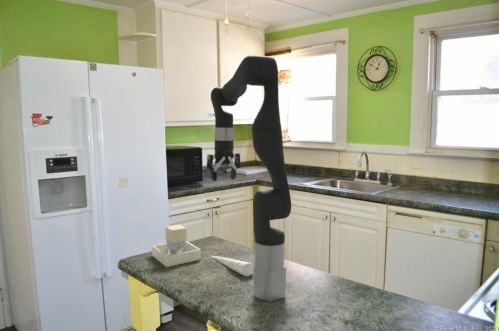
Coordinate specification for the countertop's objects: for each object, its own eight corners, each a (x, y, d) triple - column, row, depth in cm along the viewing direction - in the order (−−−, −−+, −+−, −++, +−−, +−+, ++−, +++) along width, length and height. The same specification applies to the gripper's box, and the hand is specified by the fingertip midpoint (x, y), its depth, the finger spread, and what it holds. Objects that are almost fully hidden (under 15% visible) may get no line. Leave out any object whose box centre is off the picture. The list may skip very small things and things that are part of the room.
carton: (186, 240, 149) (186, 228, 149) (172, 243, 146) (171, 230, 145) (179, 236, 154) (179, 224, 154) (165, 239, 151) (165, 226, 150)
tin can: (188, 258, 150) (188, 240, 149) (171, 262, 146) (171, 244, 145) (180, 253, 156) (180, 236, 155) (164, 256, 152) (163, 239, 151)
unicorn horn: (218, 255, 156) (218, 243, 155) (254, 275, 137) (254, 262, 136) (208, 257, 153) (208, 246, 153) (243, 278, 134) (243, 265, 134)
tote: (200, 260, 149) (200, 249, 149) (166, 268, 141) (166, 256, 141) (184, 250, 161) (184, 239, 160) (152, 257, 153) (151, 245, 152)
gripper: (213, 140, 146) (213, 182, 148) (244, 139, 154) (243, 179, 156) (203, 139, 152) (203, 180, 154) (234, 138, 160) (233, 177, 162)
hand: (223, 179), depth 155 cm, fingers open, 8 cm apart
